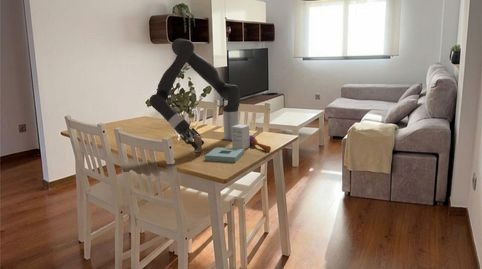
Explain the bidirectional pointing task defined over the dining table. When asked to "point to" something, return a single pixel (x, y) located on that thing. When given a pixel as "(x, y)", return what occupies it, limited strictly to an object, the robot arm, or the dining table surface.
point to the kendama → (254, 142)
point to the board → (224, 154)
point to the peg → (199, 142)
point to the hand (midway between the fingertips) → (200, 146)
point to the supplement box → (240, 136)
